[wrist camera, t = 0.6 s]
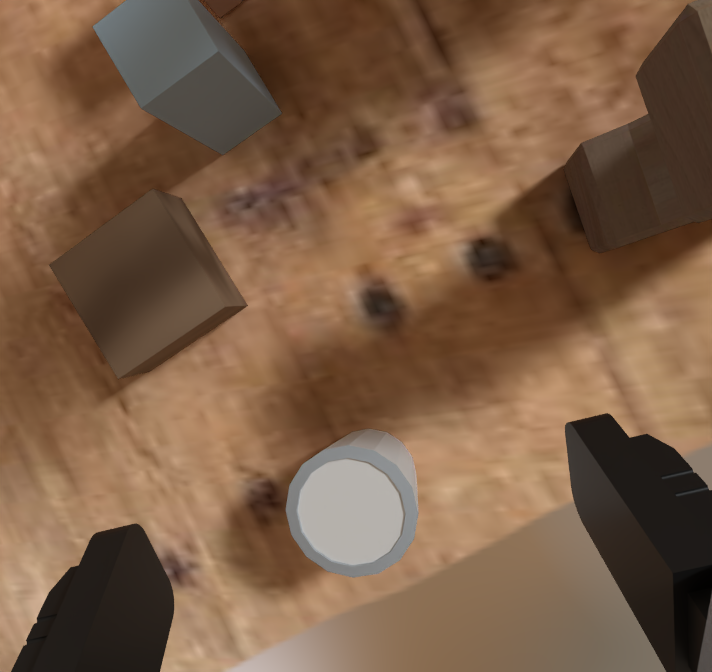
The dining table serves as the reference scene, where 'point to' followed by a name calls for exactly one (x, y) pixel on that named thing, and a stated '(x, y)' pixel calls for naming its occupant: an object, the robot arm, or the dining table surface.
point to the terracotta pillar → (222, 6)
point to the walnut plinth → (147, 284)
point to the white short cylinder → (355, 504)
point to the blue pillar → (187, 70)
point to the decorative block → (654, 145)
